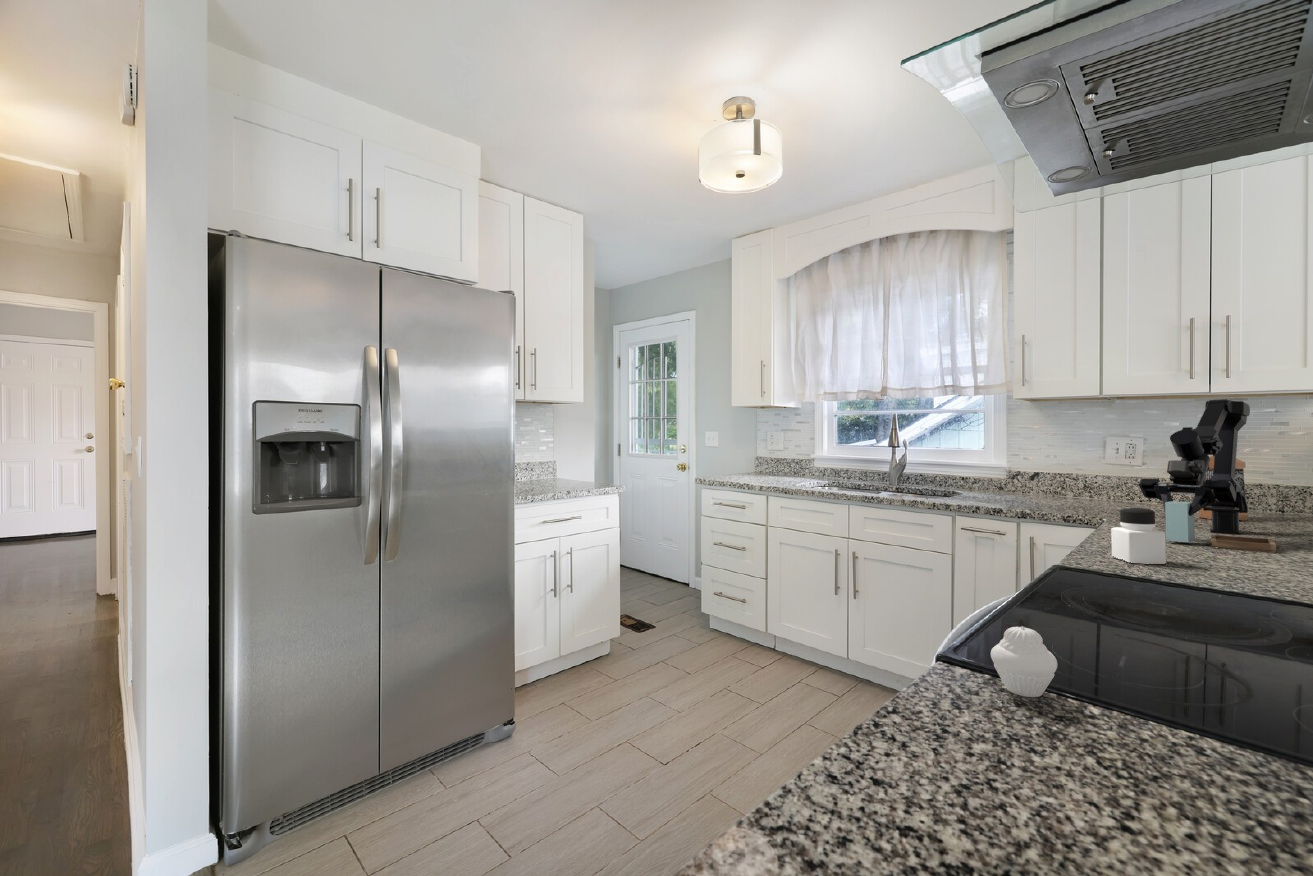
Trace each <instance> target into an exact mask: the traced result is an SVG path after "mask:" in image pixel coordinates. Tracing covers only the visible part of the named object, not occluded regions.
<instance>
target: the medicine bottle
mask: <svg viewBox="0 0 1313 876" xmlns="http://www.w3.org/2000/svg"><path fill="white" fill-rule="evenodd" d="M1119 518H1120V519H1119V520H1120V521H1119V524H1120V527H1119V526H1118V527H1112V528H1111V529H1110V533H1111V536H1110V537H1111V539H1110V541H1111V557H1112V556H1114V557H1116V558H1118V559H1123V560H1125V561H1127V562H1131V563H1166V564H1167V540H1166V532H1164V531H1160V530H1156V529H1154V528H1156V512H1155V511H1154V510H1152V509H1150V508H1144V507H1124V508H1121V509H1120V511H1119Z"/></svg>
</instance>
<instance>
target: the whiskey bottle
mask: <svg viewBox="0 0 1313 876" xmlns="http://www.w3.org/2000/svg"><path fill="white" fill-rule="evenodd" d="M1209 457H1210V462H1209V467H1210V468H1209V469H1207V472H1206V475H1205V480H1207V479H1210V478H1211V477H1212V476H1213V470H1214V458H1215V455H1209ZM1245 468H1246V462H1245V461H1243V460H1241V459H1238V458H1237V457H1236V465H1235V480H1236V481H1237V483H1238V484H1239V485H1240V487H1241V488H1242V492H1243V494H1244V497H1245V498H1246V490H1245V489H1246V487H1245V475H1244V473H1245V471H1244V469H1245ZM1202 486H1204V483H1203V484H1202ZM1212 508H1228V509H1239V508H1236V507H1219V506H1212ZM1199 517H1204V518H1212V511H1208V510H1207V511H1204V510H1203V508H1202V509H1201V510H1199V511H1198V518H1199ZM1246 519H1249V512H1248V513H1239V520H1243V521H1247V520H1246Z"/></svg>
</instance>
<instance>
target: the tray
mask: <svg viewBox="0 0 1313 876" xmlns="http://www.w3.org/2000/svg"><path fill="white" fill-rule="evenodd" d="M1236 536H1237V535H1227V536H1222V534H1211V535H1210V538H1211V541H1210V542H1211V548H1212V547H1218V548H1217V549H1220V548H1225V549H1224V550H1232V549H1242V550H1241V551H1245V550H1251V551H1250V552H1257V551H1260V552H1261V553H1270V554H1271V553H1273V554H1276V553H1277V544H1276V543H1275V541H1274V540H1273V538H1262V537H1250V536H1249V537H1247V536H1240V537H1236ZM1260 552H1259V553H1260Z"/></svg>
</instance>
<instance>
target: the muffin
mask: <svg viewBox="0 0 1313 876" xmlns="http://www.w3.org/2000/svg"><path fill="white" fill-rule="evenodd" d="M1043 640H1044V639H1043V637H1042V636H1041V634H1040V633H1038V632H1037V631H1036V630H1034V629H1031V628H1028V627H1025V626H1023V625H1021V626H1012V627H1009V628H1007V629H1006V630H1005V631H1004V633H1003V638H1002V639H1000V641H999V643H997V644H996V645H994V647H992V648H991V650H990V658H991V660H992V663H993V666H994V668H995V670H996V672H997V674H998V676H999V678H1000V679H1001V681H1002V683H1003V685H1004V686H1005V688H1006V689H1007V691H1008V692H1010V693H1012V694H1014V695H1017V696H1020V697H1025V698H1026V697H1027V698H1038V697H1041V696H1042V695H1043V694H1044V692H1045V691H1046V689H1047V688H1048V686H1049V685H1050V683H1051V682H1052V681H1053V679H1054V677H1055V675H1056V674H1055V672H1056V671H1057V669H1058V660H1057V658H1056V656H1054V654H1053V653H1052V652H1051V651H1049V650H1048V648H1047V647H1046V645H1045V644H1043V643H1044V642H1043Z"/></svg>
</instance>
